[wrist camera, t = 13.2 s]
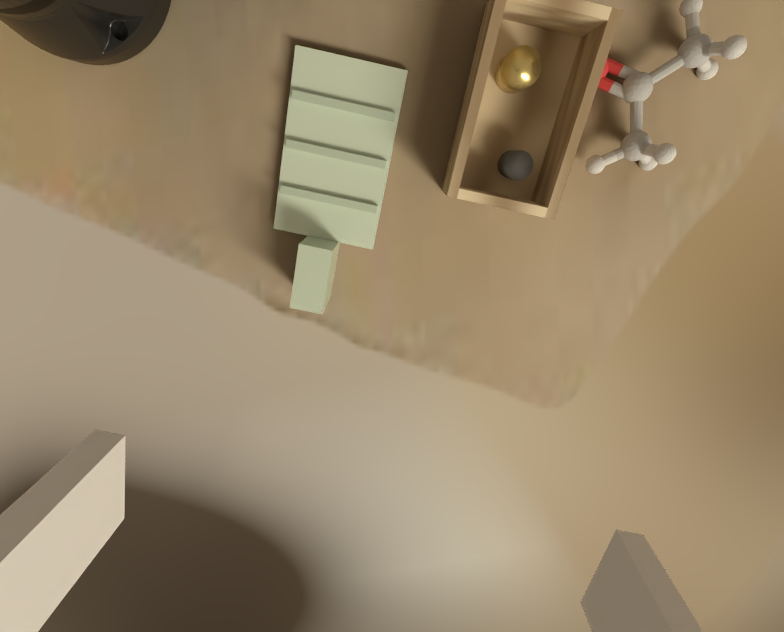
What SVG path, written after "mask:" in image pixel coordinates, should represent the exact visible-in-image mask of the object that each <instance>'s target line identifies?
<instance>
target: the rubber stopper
mask: <svg viewBox="0 0 784 632" xmlns="http://www.w3.org/2000/svg"><path fill="white" fill-rule="evenodd" d="M532 169H533V159H532V157H531V155H530V154H529V153H527V152H526V151H522V150H510V151H507V152H505V153H503V154H502V155H501V157H500V158H499V161H498V170H499V172H500V174H501V175H502V176H504V177H506V178H509V179H513V180H522V179H525V178H526V177H528V176H529V174H530V173H531V171H532Z"/></svg>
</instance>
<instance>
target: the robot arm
mask: <svg viewBox="0 0 784 632" xmlns="http://www.w3.org/2000/svg"><path fill="white" fill-rule="evenodd" d="M170 3H171V0H0V20H1V21H3V22H4V23H5V24H6V25H8V26H9V27H10V28H12V29H13V30H14V31H15V32H17V33H18V34H19V35H21V36H22V37H23V38H25V39H26V40H27V41H29V42H30V43H32V44H34V45H35V46H37V47H39V48H41V49H43V50H45V51H47V52H49V53H51V54H53V55H56V56H59V57H62V58H66V59H69V60H73V61H77V62H80V63H85V64H92V65H109V64H115V63H119V62H122V61H125V60H127V59H129V58H132V57H133V56H135V55H137V54H138V53H140V52H141V51H142V50H144V49H145V48H146V47H147V46H148V45H149V44H150V43H151V42H152V41H153V39H154V38H155V37H156V35H157V34H158V32H159V31H160V29H161V27H162V26H163V23H164V21H165V19H166V16H167V14H168V11H169V7H170ZM124 494H125V435H120V434H115V433H110V432H105V431H99V430H94V431H93V432H92V433H91V434H90V435H89V436H88V437H86V438H85V439H84V440H83V441H82V442H81V443H80V444H79V445H78V446H76V447H75V448H74V449H73V450H72V451H71V452H70V453H69V454H68V455H66V456H65V457H64V458H63V459H62V460H61V461H60V462H59V463H58V464H56V465H55V466H54V467H53V468H52V469H51V470H50V471H49V472H48V473H46V474H45V475H44V476H43V477H42V478H41V479H40V480H39V481H38V482H36V484H34V485H33V486H32V487H31V488H30V489H29V490H28V491H27V492H25V493H24V494H23V495H22V496H21V497H20V498H19V499H18V500H16V501H15V502H14V503H13V504H12V505H11V506H10V507H9V508H8V509H7V510H5V511H4V512H3V513H2V514H1V515H0V632H38V631H39V629H40V628H41V627H42V625H43V624H44V623H45V621H46V620H47V619H48V617H49V616H50V615H51V614H52V612H53V611H54V610H55V608H56V607H57V605H58V604H59V603H60V602H61V600H62V599H63V598H64V596H65V595H66V594H67V593H68V591H69V590H70V589H71V587H72V586H73V585H74V583H75V582H76V581H77V580H78V578H79V577H80V575H81V574H82V573H83V572H84V570H85V569H86V568H87V566H88V565H89V564H90V563H91V561H92V560H93V558H94V557H95V556H96V555H97V553H98V552H99V551H100V549H101V548H102V547H103V545H104V544H105V543H106V541H107V540H108V539H109V537H110V536H111V535H112V533H113V532H114V531H115V530H116V528H117V527H118V526H119V524H120V523H121V522H122V520H123V519H124V502H125V500H124V499H125V495H124ZM581 604H582V607H583V609H584V612H585V615H586V617H587V620H588V623H589V625H590V628H591V630H592V632H703V631H702V629H701V627H700V626H699V624H698V623H697V621H696V619H695V618H694V616H693V614H692V613H691V611H690V610H689V608H688V606H687V605H686V603H685V602H684V600H683V598H682V597H681V595H680V593H679V592H678V590H677V589H676V587H675V585H674V584H673V582H672V580H671V579H670V577H669V576H668V574H667V572H666V571H665V569H664V567H663V566H662V564H661V563H660V561H659V559H658V558H657V556H656V555H655V553H654V551H653V550H652V548H651V546H650V545H649V543H648V542H647V540H646V538H645V537H644V535H641V534H636V533H631V532H625V531H620V530H616V531H615V533H614V535H613V537H612V539H611V541H610V544H609V546H608V548H607V550H606V552H605V554H604V556H603V558H602V560H601V562H600V564H599V566H598V568H597V570H596V572H595V574H594V576H593V578H592V580H591V582H590V584H589V586H588V588H587V590H586V593H585V595H584V596H583V599H582V601H581Z"/></svg>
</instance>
